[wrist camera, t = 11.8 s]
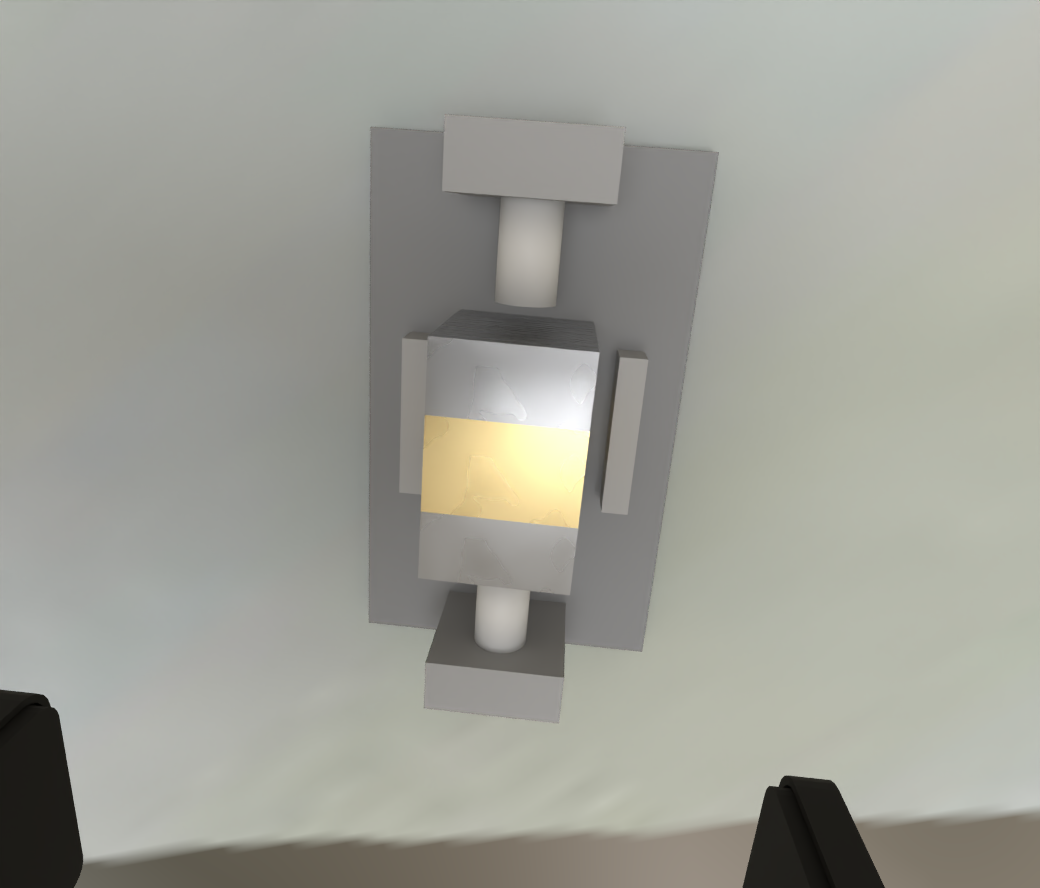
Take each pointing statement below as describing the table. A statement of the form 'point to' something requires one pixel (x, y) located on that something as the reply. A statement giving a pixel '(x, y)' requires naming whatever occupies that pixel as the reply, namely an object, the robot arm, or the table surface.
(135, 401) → the table surface
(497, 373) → the coupler
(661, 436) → the shaft stand
